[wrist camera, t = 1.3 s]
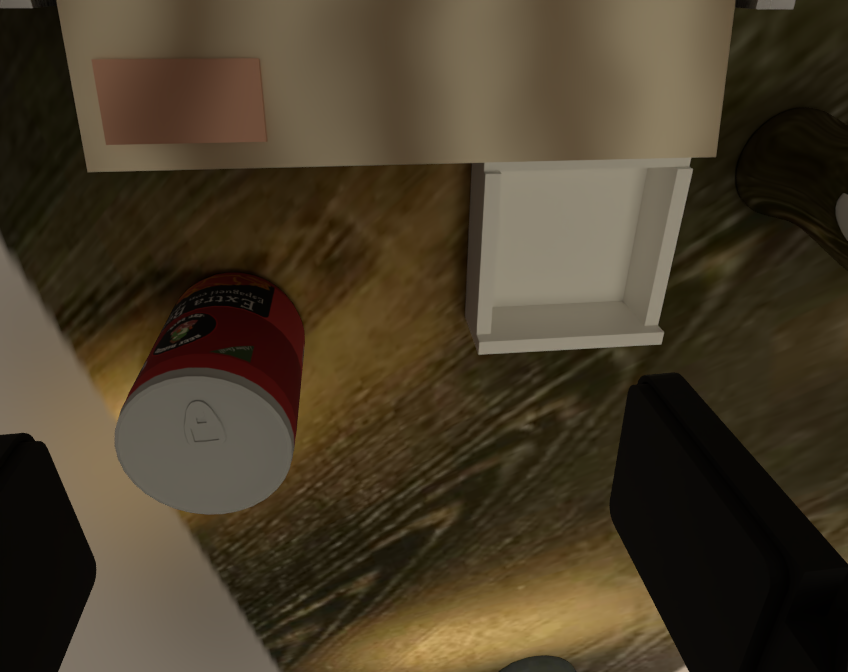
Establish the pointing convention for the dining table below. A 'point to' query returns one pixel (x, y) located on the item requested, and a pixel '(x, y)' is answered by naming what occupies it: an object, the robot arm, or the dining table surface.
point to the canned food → (216, 398)
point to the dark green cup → (540, 665)
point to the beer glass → (800, 175)
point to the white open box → (571, 252)
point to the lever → (393, 81)
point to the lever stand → (741, 1)
